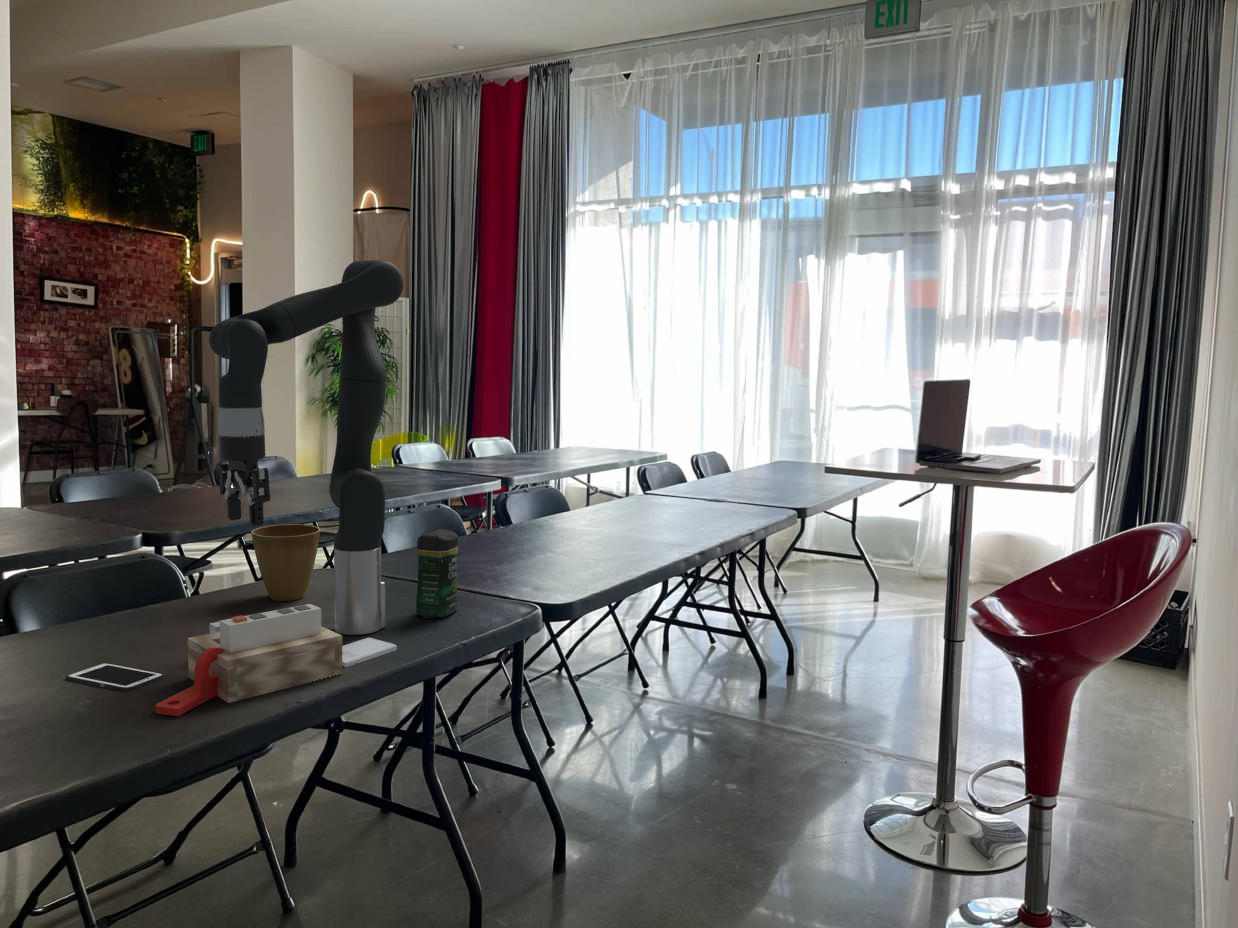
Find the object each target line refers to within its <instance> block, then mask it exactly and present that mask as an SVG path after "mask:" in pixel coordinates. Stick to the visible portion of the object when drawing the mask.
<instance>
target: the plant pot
mask: <svg viewBox="0 0 1238 928" xmlns="http://www.w3.org/2000/svg"><path fill="white" fill-rule="evenodd" d="M320 535H321V528H319V527H318V526H315V525H309V524H297V523H293V524H292V523H289V524H288V523H287V524H274V525H273V524H272V525H266V526H260V527H258V528H255V529H252V530H251V538H252V543H253V549H254V554H255V558H256V562H257V565H258V568H259V573H260V575H261V579H262V581H263V584H264V586H265V589H266V592H267V593H268V594H267V595H268V596H269V598H270V599H271V600H272V601H276V602H289V601H296V600H301V599H302V598H304V597H305V595H306V592H307V589H308V586H309V583H310V580H311V577H312V574H313V571H314V566H315V562H316V557H317V553H318V547H319V543H320V542H319V540H320Z"/></svg>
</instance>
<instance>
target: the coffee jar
mask: <svg viewBox="0 0 1238 928" xmlns="http://www.w3.org/2000/svg"><path fill="white" fill-rule="evenodd" d="M416 552H417V553H416V554H417V586H416V589H417V590H416V600H415V605H416V606H415V612H416V614H417V615H418V616H421V617H423V618H426V619H434V618H445V617H447V616H450V615H452V614H453V613H455V612H456V611H457V610H458V607H459V605H458V602H459V601H458V578H457V577H458V574H457V573H458V572H457V571H458V562H457V561H458V552H459V536H458V534H457V533H456V532H455V530H450V529H440V528H437V530H434V531H431V532H428V533H424V534H421V536H418V538H417V544H416Z"/></svg>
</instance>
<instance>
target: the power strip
mask: <svg viewBox="0 0 1238 928" xmlns="http://www.w3.org/2000/svg"><path fill="white" fill-rule="evenodd" d="M219 622H220V647H221V648H223V649H225V650H226V651H228V652H230V653H232V652H236V651H241V650H246V649H250V648H255V647H260V646H264V645H269V644H274V643H278V642H283V641H288V640H292V639H297V638H302V637H306V636H311V635H316V634H320V633H321V626H322V608H321V607H319V606H317V605H313V604H311V603H308V604H302V605H298V606H297V605H296V606H291V607H286V608H279V609H276V610H271V611H265V612H258V613H255V614H254V613H253V614H248V615H242V614H241V615H237V616H232V618H228V619H223V620H222V619H221V620H219Z"/></svg>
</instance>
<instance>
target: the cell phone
mask: <svg viewBox="0 0 1238 928" xmlns="http://www.w3.org/2000/svg"><path fill="white" fill-rule="evenodd" d="M164 678H165V674H164V673H162V672H156V671H154V670H153V671H152V670H147V669H142V668H138V667H137V668H136V667H131V666H127V665H120V664H115V663H111V662H110V663H109V662H103V663H98V664H95V665H93V666H88V667H85V668H82V669H79V670H77V671H74V672H71V673H68V674H67V675H66V676H65V679H66V680H68V681H71V682H75V683H80V684H86V685H91V686H95V687H103V688H106V689H109V690H110V689H111V690H116V691H119V692H133V691H135V690H137V689H139V688H140V689H141V688H143V687H146V686H149V685H151V684H153V683H156V682H159V681H161V680H163V679H164Z"/></svg>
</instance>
